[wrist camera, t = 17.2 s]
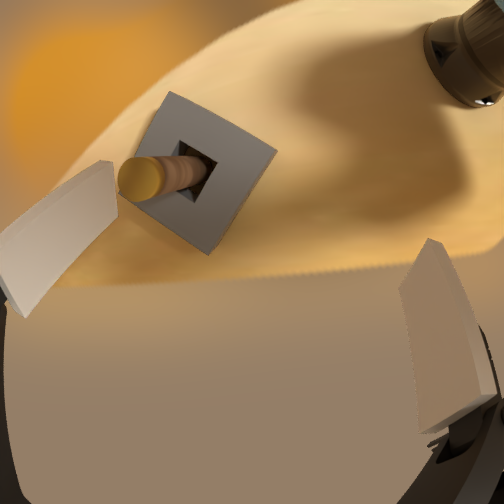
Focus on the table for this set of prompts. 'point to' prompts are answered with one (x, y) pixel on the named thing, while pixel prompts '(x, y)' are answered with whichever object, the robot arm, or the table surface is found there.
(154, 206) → the socket plate
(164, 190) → the yellow capped peg
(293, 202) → the table surface
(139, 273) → the table surface
